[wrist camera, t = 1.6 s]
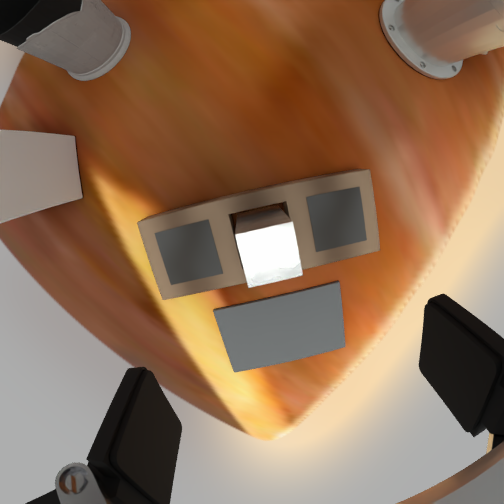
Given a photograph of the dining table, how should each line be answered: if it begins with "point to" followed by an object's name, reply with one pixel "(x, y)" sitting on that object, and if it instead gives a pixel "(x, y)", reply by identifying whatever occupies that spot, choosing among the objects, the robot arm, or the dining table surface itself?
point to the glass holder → (66, 34)
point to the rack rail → (290, 193)
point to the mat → (282, 327)
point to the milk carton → (36, 172)
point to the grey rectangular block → (267, 246)
